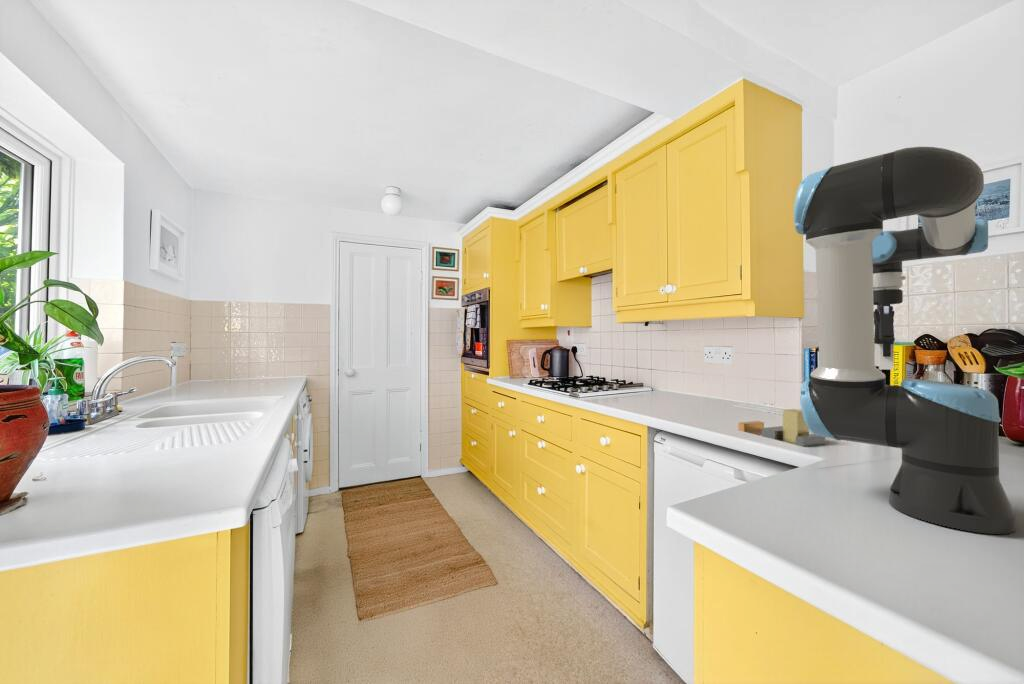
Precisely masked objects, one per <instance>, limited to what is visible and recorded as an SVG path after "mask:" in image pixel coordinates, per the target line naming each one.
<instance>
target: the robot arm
mask: <svg viewBox="0 0 1024 684" xmlns="http://www.w3.org/2000/svg"><path fill="white" fill-rule="evenodd" d="M984 183H985V181H984V173H983V171H982V169H981V167H980V166H979V165H978V163H976V162H975V161H974V160H973V159H972V158H970V157H968V156H966V155H965V154H962V153H961V152H957V151H955V150H951V149H948V148H942V147H935V146H912V147H905V148H901V149H897V150H894V151H890V152H887V153H882V154H879V155H878V154H877V155H875V156H871V157H866V158H861V159H857V160H854V161H850V162H846V163H842V164H841V163H840V164H837V165H833V166H830V167H827V168H825V169H822V170H819V171H816V172H813V173H810V174H808V175H807V176H806V177H804V178H803V179H802V181H801V182H800V184H799V186H798V188H797V191H796V194H795V198H794V199H795V200H794V205H793V206H794V207H793V221H794V229H795V231H796V233H798V235H803V236H804V235H805V242H806V244H808V245H810V246H811V247H812V248H814V250H815V270H816V272H815V273H816V277H815V278H816V301H817V302H816V304H817V306H816V307H817V332H818V333H817V334H818V336H817V337H818V362H819V364H818V366H817V367H816V368H815V369H814V370H812V371H811V372H810V379H807V380H805V381H804V382H803V383H802V384H801V386H800V401H799V402H800V407H801V408H800V409H801V410H802V414H803V417H804V421H805V423H806V425H807V427H808V428H809V432H811V433H812V434H816V435H818V436H822V437H825V438H828V439H833V440H835V441H847V442H851V443H852V442H854V443H860V444H868V445H874V446H875V445H876V446H881V447H889V448H897V449H900V450H901V464H900V466H899V469H898V471H897V473H896V475H895V477H894V479H893V481H892V483H891V486H890V488H889V489H888V490H889V491H888V503H889V505H890V506H891V507H892V508H894V510H897V511H899V513H902V514H905V515H907V516H909V515H910V516H909V517H912V518H915V519H917V518H918V520H920V519H921V520H920V521H923V520H924V522H927V521H928V522H927V523H930V522H931V523H930V524H934V523H935V524H934V525H937V524H939V525H938V526H941V525H943V526H942V527H945V526H947V527H946V528H950V527H951V528H950V529H954V528H956V529H955V530H959V529H960V530H961V531H965V530H966V532H971V531H972V532H973V533H980V534H991V535H995V534H996V535H1005V534H1011V533H1014V532H1015V531H1016V530H1017V517H1016V513H1015V510H1014V507H1013V506H1012V504H1011V502H1010V500H1009V497H1008V495H1007V493H1006V491H1005V490H1004V487H1003V485H1002V482H1001V480H1000V447H999V445H1000V444H999V443H1000V442H999V440H1000V439H999V438H1000V437H999V423H1001V421H1002V418H1001V417H1000V409H999V400H998V398H997V397H996V395H995V394H993V393H992V392H990V391H988V390H986V389H982V388H980V387H975V386H970V385H964V384H958V383H952V382H945V381H937V380H930V379H929V380H928V379H919V378H904V379H902V381H901V382H900V385H891V384H886V382H887V379H886V374H885V373H884V372H882V371H881V370H887V371H889V370H893V371H894V368H895V367H894V365H895V364H894V361H895V360H894V359H895V358H894V352H895V351H894V346H895V345H894V343H895V341H896V339H895V330H894V329H895V328H894V322H895V319H894V317H895V310H894V307H893V305H898V304H899V305H900V304H902V303H903V299H904V297H903V296H904V295H903V293H904V292H903V290H902V289H901V288H902V287H903V281H904V280H906V276H905V275H903V262H907V261H917V260H925V259H934V258H935V259H936V258H944V257H954V256H967V255H971V254H979V253H982V252H985V251H986V250H987V249H989V222H988V220H987V219H985V218H977V219H976V202H977V200H978V199H979V197H980V196H981V195H982V193H983V190H984V186H985V184H984ZM914 215H915V216H916V215H917V216H918V218H919V221H920V224H921V227H918V228H911V229H905V230H884V221H888V220H893V219H899V218H904V217H910V216H914ZM874 306H876V308H875V309H874ZM877 367H878V368H877Z"/></svg>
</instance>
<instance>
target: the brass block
mask: <svg viewBox="0 0 1024 684" xmlns="http://www.w3.org/2000/svg"><path fill="white" fill-rule="evenodd" d="M782 426H783V440H786V441H790V442H794V443H796V436H801V435H810V430H809V428H808V427H807V425H806V423H805V421H804V417H803V414H802V409H801V410H800V409H795V408H792V409H791V408H790V409H789V408H788V409H783V410H782Z"/></svg>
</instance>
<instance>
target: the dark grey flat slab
mask: <svg viewBox="0 0 1024 684" xmlns="http://www.w3.org/2000/svg"><path fill="white" fill-rule="evenodd" d="M737 426H738V428H737V430H738V431H740V432H744V433H748V434H752V435H756V436H760V437H763V438H767V439H771V440H775V441H778V442H783V443H787V444H792V445H795V446H798V447H802V448H803V447H804V448H807V447H815V446H822V445H823V446H824V445H826V437H822V436H818V435H816V434H814V433H812V434H809V435H801V436H796V443H794V442H790V441H786V440H783V425H779V426H772V427H771V426H770V427H765V422H764V421H760V420H755V421H753V420H752V421H741V422H738V425H737Z"/></svg>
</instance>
